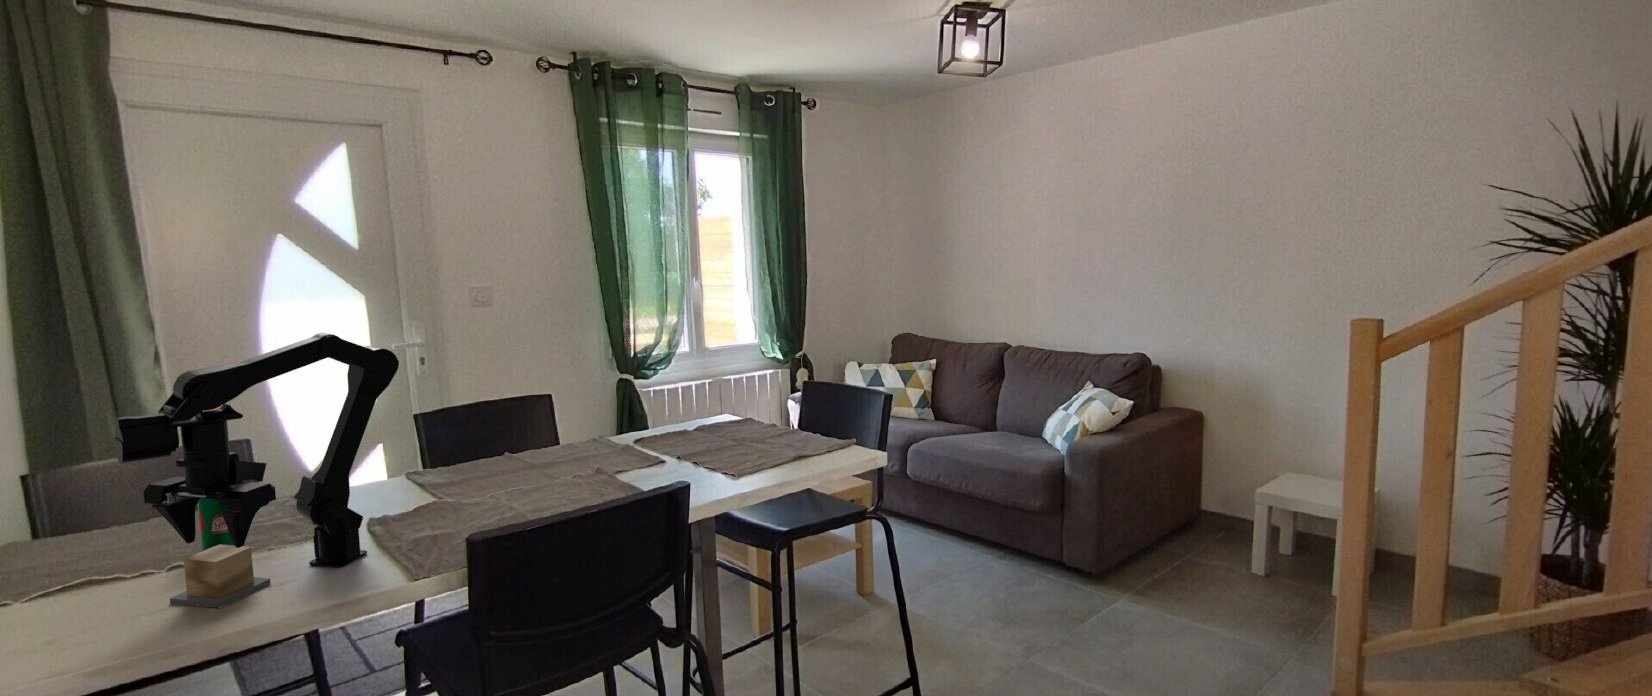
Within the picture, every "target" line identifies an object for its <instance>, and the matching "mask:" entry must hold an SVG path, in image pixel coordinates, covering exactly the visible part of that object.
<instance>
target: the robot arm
mask: <svg viewBox="0 0 1652 696" xmlns="http://www.w3.org/2000/svg"><path fill="white" fill-rule="evenodd" d="M325 359H331V360H334V361H337V362H340V363H342V364H345V365H346V366H347V365H348V367H347V368H348V369H347V373H346V375H347V394H346V398H345V400H344V403H343V406H342V408H341V411H340V413H339V416H338V419H337V421H336V425H335V427H334V429H333V432H332V434H331V435H332V436H331V438H330V440H329V443H328V446H327V449H326V451H325V454H324V456H323V459H322V462H321V465H320V467H319V469H318V470H317V471H316V472H315V473H314V474H313V475H312V476H311V477H308V476H306V475H303V476H302V478H301V480H300V485H299V486H300V487H299V489H298V491H297V493H296V494H295V495H294V496H293V499H295V500H296V504H295V507H296V510H297V511H298V512H299V514H300V515H301V516H303V518H306V519H307V520H308V521H310V522H311V524H312V525H314V526H316V527H314V528H313V529H314V530H313V533H314V535H312V536H313V548H314V550H313V551H314V558H313V559H311V560H310V561H308V562H309V563H308V564H309V566H310V565H311V566H319V567H320V566H322V567H323V566H324V567H332V568H333V567H334V568H341V567H344V566H346V565H348V564H350V563H352V562H353V561H356V560H358V559H359V558H361V557H363V556H365V555H367V554H368V550H365V549H364V550H363V549H361V542H360V528H361V526H362V523H363V520H364V517H363V515H361V514H360V513H358V512H356V511H355V510H353V509H351V508H350V507H348V506H349V500H350V496H351V495H350V494H351V490H350V473H351V471H352V468H353V465H354V462H355V459H356V457H357V453H358V451H359V449H360V445H361V442H362V440H363V437H364V434H365V432H366V429H367V426H368V423H369V421H370V418H371V415H372V412H373V410H374V407H375V404H376V403H377V402H376V401H377V400H378V398H379V397H380V396H381V395H382V394H383V392H384V391H385V390H386V389H387V388H388V387H389V386H390V385H391V383H392V381H393V380H394V377H395V375H396V373H398V370H399V366H400V362H399V359H398V357H397V355H396V354H395V353H394V352H393V351H391V350H390V349H387V348H382V347H378V346H373V345H372V346H371V345H365V346H362V345H359V344H357V343H354V342H351V341H349V340H345V339H343V338H341V337H339V336H338V335H336V334H331V333H327V332H319V333H316V334H314V335H312V336H311V337H309V338H305V339H303V340H300V341H297V342H294V343H291V344H288V345H286V346H283V347H279V348H277V349H274V350H271V351H268V352H265V353H263V354H259V355H256V356H253V357H250V358H248V359H244V360H241V361H238V362H234V363H233V362H232V363H227V364H219V365H212V366H207V367H203V368H202V367H201V368H196V369H191V370H188V371H185V372H184V373H181V374H180V375H178V376H177V377H176V379H175V380H174V383H173V387H172V393H171V395H169V397H168V398H167V400H166V401H165V402H164V403H163V405H161V407H160V408H159V410H157V413H155V414H145V415H138V416H137V415H136V416H131V415H130V416H129V415H128V416H127V415H126V416H120V417H116V418H115V427H114V428H115V429H114V437H112V441H113V442H112V443H113V448H114V452H115V456H116V459H117V461H118V463H119V464H120V465H121V464H127V463H135V462H141V461H146V460H155V459H158V458H166V457H171V455H172V452H176V450H177V449H179V447H180V439H181V446H182V447H181V449H182V458H179V459H177V460H175V464H176V468H178V467H180V468H184V476H173V477H170V478H167V479H163V480H160V481H156V482H153V483H149V484H148V485H147V486H146V488H145V489H144V491H142V492H143V493H142V494H143V502H144V504H152V505H151V508H152V509H154V510H156V511H157V512H158V513H159V514H160V515H161V516H162V517H163V518H164V519H165V520H166V521H167V523H169V524H170V526H171V527H172V528H173V529H174V530H175V531H176V532H177V533H178V535H179V536H180V537H181V538H182V539H183V541H184V542H185V543H186V544H191V543H193V542H195V541H196V533H197V532H196V531H197V529H196V507H197V506H198V505H197V503H198V502H199V500H200V498H205V499H218V500H221V502H222V505H223V507H224V508H225V509H226V510H224V511H222V515H223V518H224V521H225V523H226V526H227V528H228V531H229V534H230V536H231V539H232V541H233V543H234V545H235V547H236V548H240V547H242V546H245V544H246V540H247V537H248V534H249V531H250V528H251V526H252V523H253V520H254V518H255V516H256V514H257V512H259V510H260V509H261V508H263V507H266V506H268V505H269V504H270V502H272V501H275V500H277V495H276V487H275V486H274V485H272V484H271V483H270V482H269V483H268V482H267V483H266V482H264V477H265V473H266V469H267V462H258V461H257V462H256V461H245V460H240V456H239V454H238V452H236V451H234V452H233V451H230V441H229V428H228V421H234V420H240V419H243V418H244V414H242V413H240V412H239V411H237V410H235V409H234V408H233V407H232V406H231V405H230V404H228V402H231V401H233V400H234V399H235V398H237V397H239V396H240V395H241V394H242V395H243V393H244V392H246V391H247V390H248V389H250V388H252V387H253V386H256V385H257V384H260V383H263V382H266V381H269V380H272V379H274V378H277V377H279V376H281V375H285V374H287V373H290V372H292V371H296V370H298V369H300V368H304V367H306V366H309V365H311V364H315V363H317V362H319V361H323V360H325ZM178 428H180V429H179V430H180V436H179V430H178ZM180 437H181V438H180ZM249 480H250V481H251V482H247V483H245V484H244V482H245V481H249ZM253 481H255V482H253ZM241 484H242V485H241ZM236 485H237V486H236ZM238 485H239V486H238ZM233 486H235V487H233Z"/></svg>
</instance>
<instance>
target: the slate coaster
mask: <svg viewBox="0 0 1652 696" xmlns="http://www.w3.org/2000/svg"><path fill="white" fill-rule="evenodd" d="M270 584H271V578H267V577H257V576H254V582H253V583H251V584H248V585H246V586H244V587H242V588H240V589H238V590H236V591H234V592H232V593H230V594H228V595H225V596H223V597H221V598H212V597H202V596H193V595H187V590H185V591H183V592H181V593H178V594H176V595H174V596H171V597H170V598H169V603H170V604H176V605H185V606H192V605H199V606H198V607H202V606H206V607H205V608H211V607H217V608H216V609H221V608H223V607H224V605H225V606H228V605H229V604H231V603H233V602H235V601H237V600H240V599H241V598H244V597H246V596H247V595H250V594H252V593H253V592H255V591H257V590H259V589H262V588H263V587H266V586H268V585H270ZM222 606H223V607H222ZM220 607H221V608H220Z"/></svg>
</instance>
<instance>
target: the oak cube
mask: <svg viewBox="0 0 1652 696" xmlns="http://www.w3.org/2000/svg"><path fill="white" fill-rule="evenodd" d="M183 566H184V567H183V568H184V575H185V576H184V577H185V584H186V585H185V586H186V591H187V595H193V596H202V597H212V598H221V597H223V596H225V595H228V594H230V593H232V592H234V591H236V590H238V589H240V588H242V587H244V586H246V585H248V584H251V583H253V582H254V577H255V576H254V567H253V555H252V547H251V546H245V545H243V546H242V547H240V548H236V547H235V546H232V545H221V544H219V545H217V546H214V547H212V548H209V549H207V550H204V551H203V550H202V551H200V552H197V553H194V554H192V555H190V556H188V557H185V558H183Z"/></svg>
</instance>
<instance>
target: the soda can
mask: <svg viewBox="0 0 1652 696" xmlns="http://www.w3.org/2000/svg"><path fill="white" fill-rule="evenodd" d="M196 506H197V514H198V523H199V524H198V525H199V532H200V533H199V534H200V542H201V543H200V544H201V550H202V551H204V550H207V549H209V548H212V547H214V546H217V545H219V544H221V545H232V546H235V545H234V543H233V541H232V539H231V536H230V534H229V531H228V528H227V526H226V523H225V521H224V518H223V515H222V511H224V510H226V509H225V508H224V507H223V505H222V502H221V500H218V499H205V498H200V500H199V502H198V503H197V505H196Z"/></svg>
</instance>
